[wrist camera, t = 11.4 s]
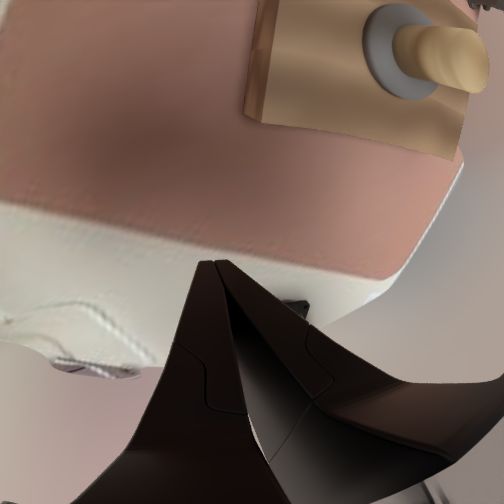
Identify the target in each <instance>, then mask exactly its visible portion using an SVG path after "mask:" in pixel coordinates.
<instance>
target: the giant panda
mask: <svg viewBox="0 0 504 504" xmlns="http://www.w3.org/2000/svg"><path fill="white" fill-rule="evenodd" d="M468 3H469V6H470V8H472V9H476V8H477V7H478V5H482V6H483V9H484V10H486V11H488V10H490V7H494V8H496V9H498V10H500V11H501V12H503V13H504V0H468Z"/></svg>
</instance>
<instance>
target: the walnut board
mask: <svg viewBox="0 0 504 504" xmlns="http://www.w3.org/2000/svg"><path fill="white" fill-rule="evenodd" d="M396 3H404V4H409V5H411V6H414V7H416V8H417V9H419V10H420V11H422V12H423V13H424V14H425V15H426V16H427V17H428V18H429V19H430V20H431V22H432V23H433V24H434V26H443V27H455V28H464V29H471V30H473V31H475V32H476V33H477V24H476V23H475V22H474V21H473V20H472V19H471V18H469V17H468V16H467V15H466V14H465V13H464V12H463V11H461V10H460V9H459V8H458V7H457V6H455V5H454V4H453V3H452V2H450V1H449V0H259V5H258V11H257V17H256V24H255V30H254V37H253V44H252V51H251V58H250V65H249V72H248V79H247V86H246V94H245V101H244V109H243V113H244V114H245V115H247V116H249V117H251V118H253V119H255V120H257V121H258V122H260V123H266V124H276V125H285V126H293V127H301V128H308V129H315V130H322V131H328V132H334V133H340V134H345V135H350V136H356V137H361V138H366V139H370V140H375V141H379V142H384V143H388V144H392V145H396V146H400V147H404V148H408V149H412V150H416V151H419V152H423V153H427V154H430V155H433V156H437V157H440V158H443V159H447V160H450V161H453V159H454V156H455V152H456V149H457V145H458V141H459V137H460V133H461V129H462V125H463V121H464V117H465V112H466V107H467V102H468V97H469V92H467V91H464V90H461V89H457V88H454V87H450V86H446V85H442V84H439V85H438V86H437V88H436V89H435V91H434V92H433V93H432V94H431V95H429V96H428V97H426V98H424V99H421V100H408V99H405V98H401V97H397V96H394V95H392V94H390V93H388V92H387V91H385V90H384V89H383V88H382V87H381V86H380V85H379V84H378V83H377V82H376V80H375V79H374V78H373V76H372V74H371V73H370V71H369V68H368V66H367V64H366V61H365V57H364V53H363V47H362V35H363V29H364V25H365V22H366V20H367V18H368V16H369V15H370V14H371V13H372V12H373V11H374V10H375V9H376V8H378V7H380V6H382V5H387V4H396Z"/></svg>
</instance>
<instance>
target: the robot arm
mask: <svg viewBox="0 0 504 504" xmlns="http://www.w3.org/2000/svg"><path fill="white" fill-rule="evenodd" d="M309 307H310V305H309V303H308V302H307V301H302V302H294V303H287V304H284V303H283V302H282V301H280V300H279V299H278V298H276V297H275V296H274V295H272V294H271V293H270V292H269V291H267V290H266V289H265V288H263V287H262V286H261V285H260V284H258V283H257V282H256V281H255V280H253V279H252V278H251V277H249V276H248V275H247V274H246V273H244V272H243V271H242V270H241V269H239V268H238V267H237V266H236V265H234V264H233V263H232V262H230V261H229V260H227V259H226V260H215V261H214V262H213V261H212V260H208V261H199V262H198V265H197V268H196V271H195V274H194V277H193V280H192V283H191V286H190V289H189V292H188V295H187V298H186V301H185V304H184V307H183V311H182V314H181V317H180V320H179V323H178V327H177V330H176V333H175V336H174V340H173V342H172V346H171V349H170V352H169V355H168V358H167V361H166V364H165V367H164V370H163V372H162V374H161V377H160V379H159V381H158V384H157V386H156V388H155V390H154V392H153V395H152V397H151V399H150V401H149V403H148V405H147V407H146V409H145V412H144V414H143V416H142V418H141V420H140V422H139V424H138V427H137V429H136V431H135V433H134V435H133V436H132V438H131V440H130V442H129V443H128V445H127V446H126V448H125V449H124V450H123V452H122V453H121V454H120V455H119V456H118V457H117V458H116V459H115V460H114V462H112V463H111V464H110V466H108V467H107V469H105V471H104V472H103V473H102V474H101V475H100V476H99V477H98V478H97V479H96V480H95V481H94V482H93V483H92V484H91V485H90V486H89V487H88V488H87V489H86V490H85V491H84V492H82V493H81V495H79V496H78V498H76V499H75V500H74V501H73V502H71V503H70V504H504V373H503V375H501V376H500V377H499V378H497V379H495V380H492V381H488V382H480V383H457V384H454V383H451V384H450V383H447V384H436V383H435V384H433V383H430V384H429V383H410V382H406V381H402V380H399V379H397V378H394V377H392V376H390V375H389V374H387V373H385V372H383V371H382V370H380V369H378V368H377V367H375V366H373V365H372V364H370V363H368V362H366V361H365V360H363V359H362V358H360V357H358V356H356V355H355V354H353V353H351V352H350V351H349V350H347V349H345V348H344V347H342V346H341V345H339V344H338V343H336V342H335V341H333V340H331V339H330V338H329V337H328V336H326V335H325V334H324V333H322V332H321V331H319V330H318V329H317V328H316V327H314V326H313V325H312V324H310V325H309V322H307V321H306V320H305V318H306V316H307V313H308V310H309ZM247 411H248V412H247ZM248 414H249V417H250V419H251V422H252V424H253V427H254V429H255V432H256V434H257V437H258V440H259V442H260V445H261V447H262V449H263V452H264V454H265V457H266V459H267V461H268V463H269V464H268V463H267V461H266V459H265V457H264V455H263V453H262V452H261V450H260V448H259V446H258V444H257V442H256V441H255V438H254V435H253V432H252V429H251V425H250V422H249V417H248ZM1 504H16V503H13V502H7V501H4V502H2V503H1Z"/></svg>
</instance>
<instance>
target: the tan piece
mask: <svg viewBox="0 0 504 504" xmlns="http://www.w3.org/2000/svg"><path fill="white" fill-rule="evenodd" d="M362 47H363V53H364V57H365V61H366V64H367V66H368V68H369V71H370V73H371V74H372V76H373V78H374V79H375V80H376V82H377V83H378V84H379V85H380V86H381V87H382V88H383V89H384V90H385V91H387V92H388V93H390V94H392V95H394V96H397V97H401V98H405V99H408V100H421V99H424V98H426V97H428V96H429V95H431V94H432V93H433V92H434V91H435V89H436V88H437V86H438V85H439V84H442V85H446V86H450V87H454V88H457V89H461V90H464V91H467V92H471V93H475V94H476V93H479V92H481V91H482V90H483V89H484V87H485V86H486V83H487V81H488V77H489V58H488V53H487V49H486V47H485V45H484V42H483V40H482V39H481V37H480V36H479V35H478V34H477V33H476V32H475V31H473V30H471V29H464V28H455V27H443V26H434V24H433V23H432V22H431V20H430V19H429V18H428V17H427V16H426V15H425V14H424V13H423V12H422V11H420V10H419V9H417V8H416V7H414V6H411V5H409V4H404V3H396V4H387V5H382V6H380V7H378V8H376V9H375V10H374V11H373V12H372V13H371V14H370V15H369V16H368V18H367V20H366V22H365V25H364V29H363V35H362Z"/></svg>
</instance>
